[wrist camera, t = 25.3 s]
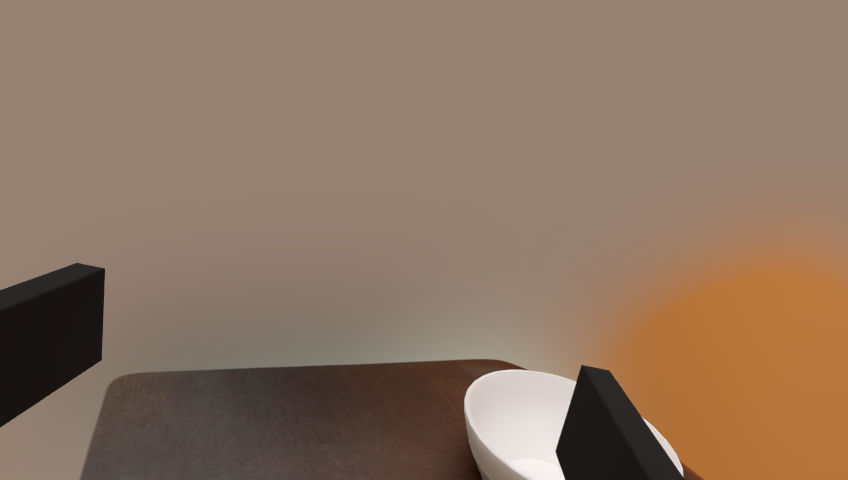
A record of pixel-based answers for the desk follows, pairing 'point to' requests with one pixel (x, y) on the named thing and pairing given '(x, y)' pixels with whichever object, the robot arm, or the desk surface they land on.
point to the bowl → (522, 424)
